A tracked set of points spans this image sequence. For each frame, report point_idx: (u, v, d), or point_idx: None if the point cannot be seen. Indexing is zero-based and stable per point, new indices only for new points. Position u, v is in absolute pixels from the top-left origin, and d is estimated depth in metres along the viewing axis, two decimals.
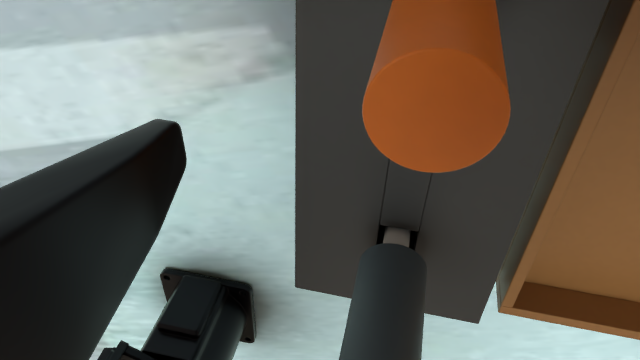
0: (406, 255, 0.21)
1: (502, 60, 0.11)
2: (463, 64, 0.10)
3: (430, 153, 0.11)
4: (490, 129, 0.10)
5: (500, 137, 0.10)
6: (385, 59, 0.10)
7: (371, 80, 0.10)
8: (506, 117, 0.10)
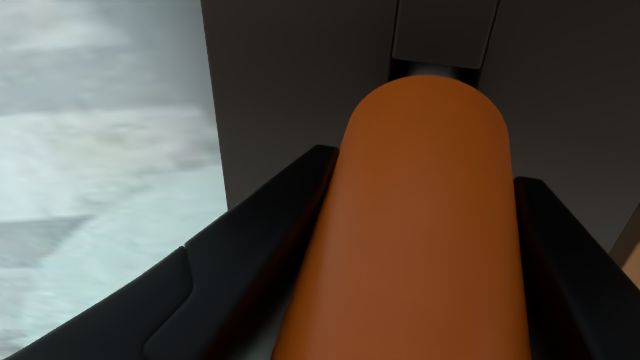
0: None
1: None
2: None
3: None
4: None
5: None
6: None
7: None
8: None
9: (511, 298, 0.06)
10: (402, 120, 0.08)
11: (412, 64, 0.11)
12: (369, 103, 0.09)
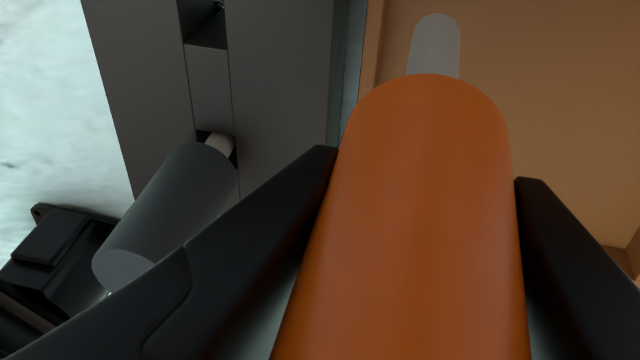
0: (205, 152, 0.20)
1: None
2: None
3: None
4: None
5: None
6: None
7: None
8: None
9: (511, 296, 0.06)
10: (401, 118, 0.08)
11: (411, 63, 0.11)
12: (368, 101, 0.09)
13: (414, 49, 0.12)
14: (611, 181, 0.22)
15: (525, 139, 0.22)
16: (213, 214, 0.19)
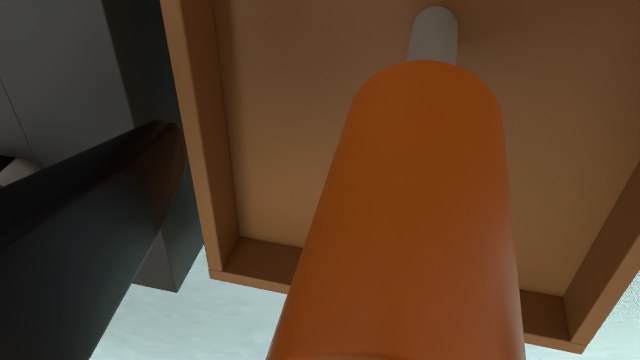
0: None
1: (517, 315, 0.06)
2: None
3: None
4: None
5: None
6: (291, 333, 0.05)
7: None
8: None
9: (502, 257, 0.06)
10: (402, 100, 0.08)
11: (411, 53, 0.12)
12: (370, 86, 0.09)
13: (413, 40, 0.12)
14: (534, 215, 0.17)
15: None
16: None
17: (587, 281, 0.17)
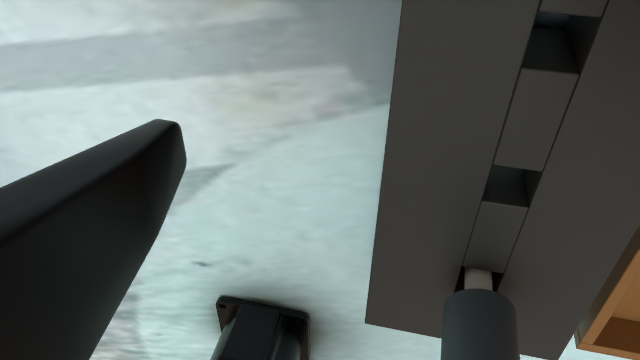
0: (497, 302, 0.20)
1: None
2: None
3: None
4: None
5: None
6: None
7: None
8: None
9: None
10: None
11: None
12: None
13: None
14: None
15: None
16: None
17: None
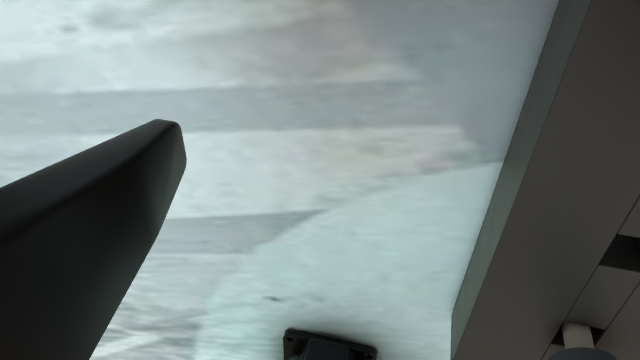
0: None
1: None
2: None
3: None
4: None
5: None
6: None
7: None
8: None
9: None
10: None
11: None
12: None
13: None
14: None
15: None
16: None
17: None
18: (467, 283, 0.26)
